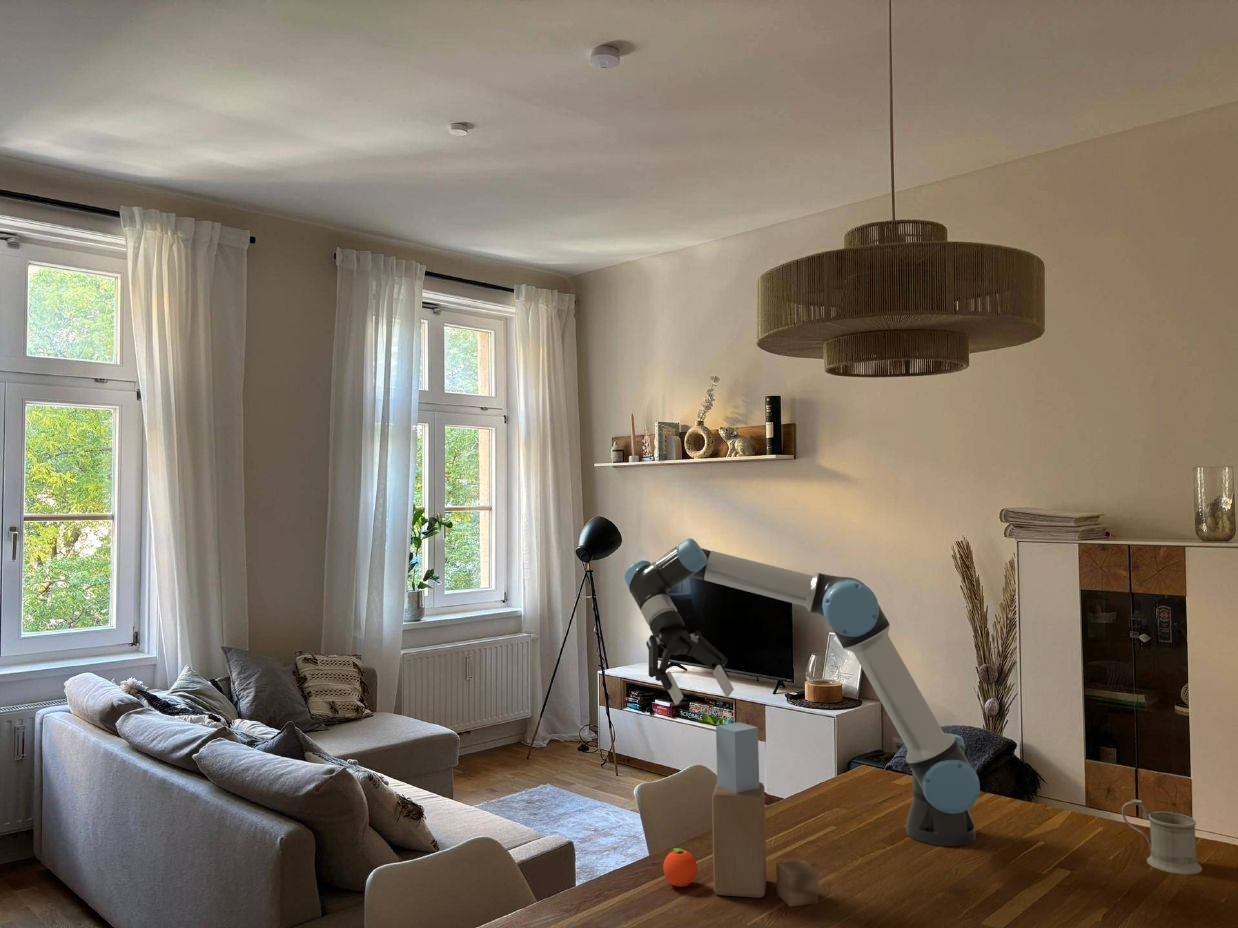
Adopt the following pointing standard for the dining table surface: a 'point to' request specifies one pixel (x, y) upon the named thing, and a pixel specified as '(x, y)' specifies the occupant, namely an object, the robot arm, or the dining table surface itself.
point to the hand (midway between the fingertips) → (705, 696)
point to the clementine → (680, 867)
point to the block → (739, 842)
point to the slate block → (737, 757)
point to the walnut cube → (797, 882)
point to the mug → (1170, 841)
